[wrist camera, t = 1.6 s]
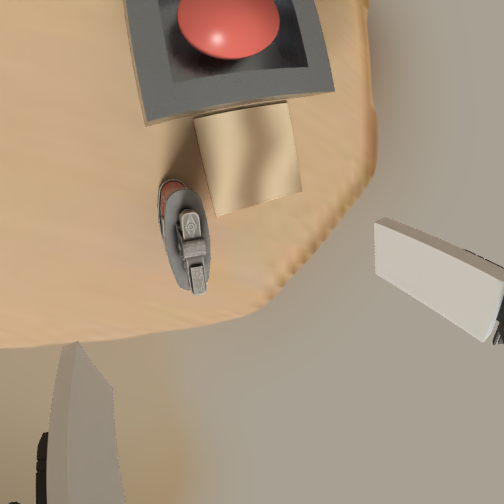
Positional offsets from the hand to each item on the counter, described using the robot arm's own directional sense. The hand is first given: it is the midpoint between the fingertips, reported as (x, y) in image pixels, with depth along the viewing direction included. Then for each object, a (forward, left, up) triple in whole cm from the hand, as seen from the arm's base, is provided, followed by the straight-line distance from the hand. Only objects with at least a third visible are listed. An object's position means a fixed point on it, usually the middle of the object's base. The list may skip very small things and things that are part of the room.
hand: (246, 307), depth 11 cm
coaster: (+8, +3, -19) cm, 21 cm away
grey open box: (+7, +17, -19) cm, 26 cm away
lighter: (-1, -1, -19) cm, 19 cm away
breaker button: (+7, +17, -15) cm, 24 cm away
